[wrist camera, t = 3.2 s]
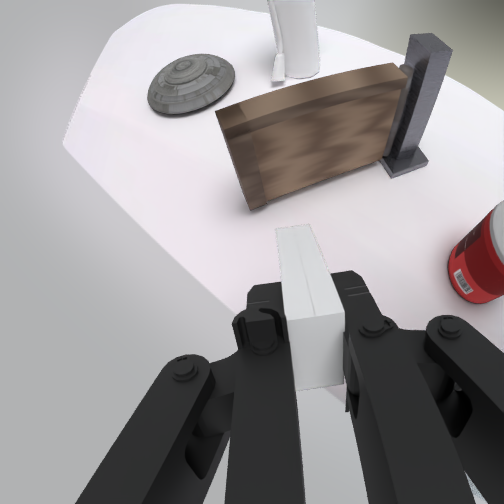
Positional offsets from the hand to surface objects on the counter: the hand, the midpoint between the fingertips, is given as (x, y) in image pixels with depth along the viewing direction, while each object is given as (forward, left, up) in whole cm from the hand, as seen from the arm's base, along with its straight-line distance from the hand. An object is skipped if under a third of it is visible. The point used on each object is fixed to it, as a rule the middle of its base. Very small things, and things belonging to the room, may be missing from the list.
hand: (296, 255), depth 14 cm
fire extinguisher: (-26, -28, -19) cm, 43 cm away
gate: (-13, -10, -18) cm, 24 cm away
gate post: (-24, -6, -19) cm, 31 cm away
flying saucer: (-12, -38, -20) cm, 45 cm away
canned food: (-18, +11, -19) cm, 29 cm away
